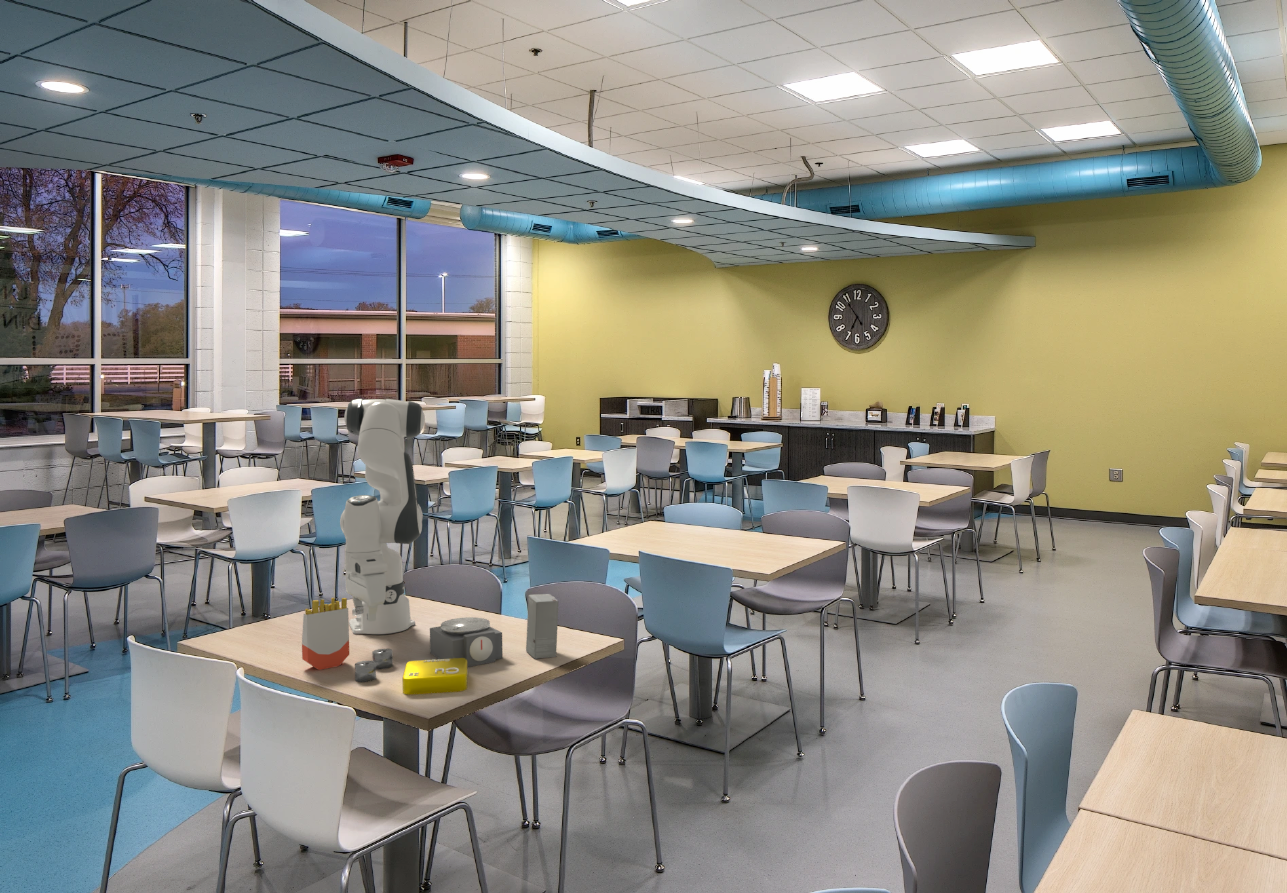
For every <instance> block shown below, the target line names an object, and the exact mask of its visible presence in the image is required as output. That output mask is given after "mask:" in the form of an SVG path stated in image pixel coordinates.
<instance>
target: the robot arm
mask: <svg viewBox="0 0 1287 893" xmlns="http://www.w3.org/2000/svg"><path fill="white" fill-rule="evenodd" d="M425 416H426V415H425V412H424V411H423V407H422V405H421V404H420V403H419V402H418V403H417V402H414V401H410V400H409V401H405V400H400V399H399V400H398V399H392V398H391V399H390V398H386V399H385V398H384V399H381V398H380V399H379V398H377V399H375V398H374V399H373V398H372V399H370V398H369V399H364V398H357V399H352V400H351V401H350V402H349V403H348V404H347V406H346V408H345V412H344V416H343V417H344V423H345V427H346V430H347V431H348V432H349V433H350V434H352V435H355V436H358V439H357V453H358V456H359V459H360V460H361V462H362V463H363V464H364V465H365V473H364V478H365V481H366V483H367V485H369V486H370V487H371V488H373V489H375V490H377V491H378V492H379V497H380V498H379V499H380V500H378V498H377V497H375V496H373V495H371V494H370V495H369V494H366V495H365V494H361V495H356V496H352V497H350V498H348V499H347V500H345V501H346V502H345V507H344V509H343V511H342V513H341V514H340V519H339V524H340V525H339V526H340V529H341V531H342V534H343V535H344V538H345V545H344V570H345V590H346V593H347V594H348V595H351V596H352V602H353V606H354V607H353V608H352V609H351V611H352V616H353V617H354V618H350V619H349V627H350V629H351V632H352V633H353V634H355V635H359V634H360V635H361V634H364V635H387V634H388V635H389V634H395V633H399V632H403V631H406V630H407V629H409V628H410V627H412V626H415V625H416V621H415V620H414V619H411V607H410V600H409V598H408V597H407V596H406V595H405V588H406V587H405V586H406V585H405V581H404V578H403V576H404V575H403V558H402V556H401V553H399V552H398V551H397V550H395V549H393V548H390V547H389V546H388V544H403V545H410V544H412V543H414V542H415V541H416V540H417V539H418V538H419V537H420V536H421V535H422V534H421V533H422V529H423V516H424V515H423V511H422V508H421V506H420V504H419V503H418V495H417V487H416V478H415V472H414V466H413V462H412V459H411V456H410V454H409V453H407V452H405V438H406V440H408V441H409V440H410V439H413V438H415V437H417V436H419V435H420V434H421V432H422V430H423V429H424V427H425V422H426V421H425V420H426V418H425ZM355 616H356V617H355Z"/></svg>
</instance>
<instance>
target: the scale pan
mask: <svg viewBox="0 0 1287 893" xmlns="http://www.w3.org/2000/svg"><path fill="white" fill-rule="evenodd" d="M440 626H441V630H442V631H443V632H446V633H451V634H470V633H477V632H481V631H485V630H487V629H489V628H490V627H491V621H490V620H489V619H487V618H485V617H484V618H482V617H473V616H471V617H470V616H469V617H457V618H456V617H455V618H451V619H447V620H445V621H442V622H441V623H440Z"/></svg>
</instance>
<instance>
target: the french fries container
mask: <svg viewBox="0 0 1287 893" xmlns="http://www.w3.org/2000/svg"><path fill="white" fill-rule="evenodd" d="M330 600H331V601H330V603H329V604H327V603H325V599H320V601H319V600H318V599H316V600H312V601H311V602H312V604H311V609H309V608H305V611H304V612H305V613H303V616H302V634H301V636H302V637H301V653H302V654H301V656H302V657H301V658H302V661H305V662H306V663H307V664H309V665H310V666H312V668H315V669H317V670H319V671H320V670H325V669H326V670H327V669H331V668H335V667H340V666H341V665H342V664H343V662H344V661H345V660H346V659H347V658H348V657H349V656H350V628H349V627H350V624H349V620H350V619H349V608H348V607H347V606H348V603H347V602H348V598H347V597H343V598H341V606H340V601H339V600H335V597H331V599H330Z"/></svg>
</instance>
